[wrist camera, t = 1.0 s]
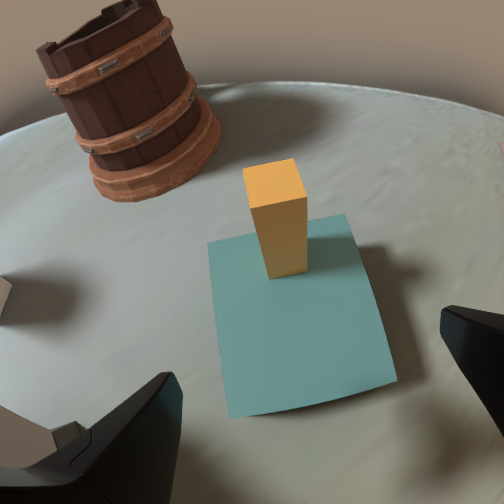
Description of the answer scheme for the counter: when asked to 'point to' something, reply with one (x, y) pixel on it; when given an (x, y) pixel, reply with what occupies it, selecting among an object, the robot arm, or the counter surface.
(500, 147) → the electrical control box
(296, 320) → the lid
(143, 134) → the mug
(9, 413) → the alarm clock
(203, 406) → the counter surface
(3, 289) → the milk
